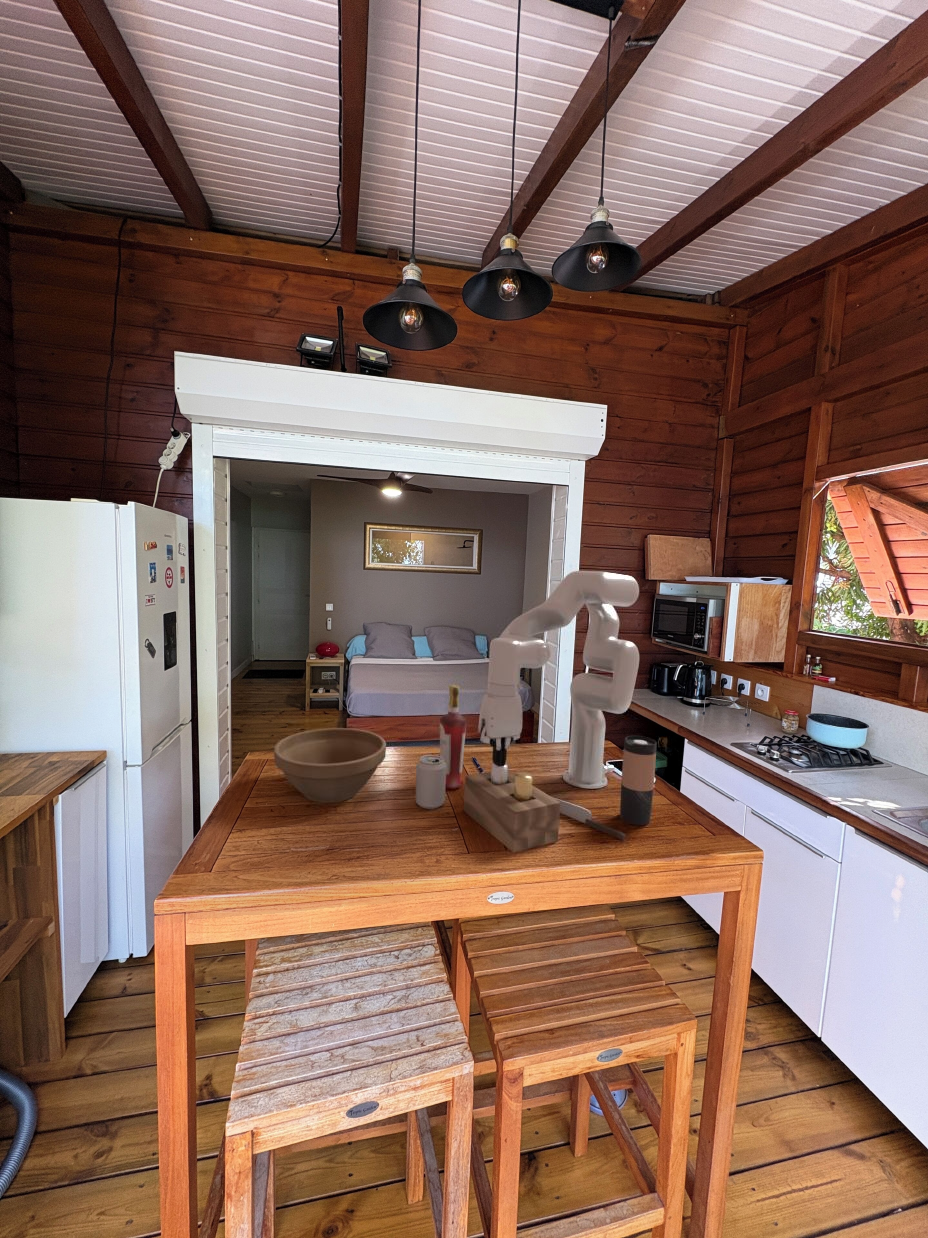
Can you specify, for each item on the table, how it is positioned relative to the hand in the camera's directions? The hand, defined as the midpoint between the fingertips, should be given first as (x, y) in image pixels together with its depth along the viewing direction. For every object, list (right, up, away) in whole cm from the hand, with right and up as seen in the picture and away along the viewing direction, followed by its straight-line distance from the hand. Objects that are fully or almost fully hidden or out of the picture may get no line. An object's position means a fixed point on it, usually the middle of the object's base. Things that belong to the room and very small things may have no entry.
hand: (499, 764), depth 130 cm
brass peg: (+5, -9, -8) cm, 13 cm away
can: (-17, -12, +7) cm, 22 cm away
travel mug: (+34, -15, +3) cm, 37 cm away
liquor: (-12, -11, +19) cm, 25 cm away
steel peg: (0, -9, +1) cm, 9 cm away
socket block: (+2, -14, -3) cm, 14 cm away
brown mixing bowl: (-44, -11, +11) cm, 46 cm away
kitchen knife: (+18, -14, +3) cm, 23 cm away
